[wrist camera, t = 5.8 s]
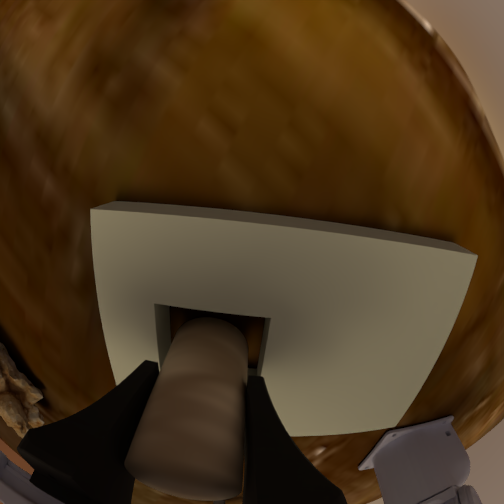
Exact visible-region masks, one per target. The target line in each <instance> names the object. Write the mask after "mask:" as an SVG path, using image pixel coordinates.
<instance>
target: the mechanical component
mask: <svg viewBox="0 0 504 504" xmlns="http://www.w3.org/2000/svg"><path fill="white" fill-rule="evenodd" d="M213 504H225V501H223V500H216V501H214V502H213Z"/></svg>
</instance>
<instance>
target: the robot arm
mask: <svg viewBox="0 0 504 504" xmlns="http://www.w3.org/2000/svg"><path fill="white" fill-rule="evenodd" d="M158 375H159V366H158V362H154V361H149V360H145V361H143V362H142V363H141V364H140V365H139V366H138V367H137V368H136V369H135V370H134V371H133V372H132V373H131V374H130V375H129V376H127V377H126V378H125V379H124V380H123V381H122V382H121V383H119V384H118V385H117V386H116V387H115V388H114V389H112V390H111V391H110V392H108V393H107V394H106V395H105V396H103V397H102V398H101V399H99V400H98V401H96V402H95V403H93V404H92V405H90V406H88V407H87V408H85V409H83V410H81V411H79V412H77V413H76V414H74V415H72V416H69V417H67V418H65V419H62V420H60V421H57V422H54V423H51V424H48V425H44V426H40V427H36V428H32V429H29V430H28V431H27V433H26V434H25V436H24V437H23V439H22V441H21V442H20V444H19V446H18V447H17V450H18V452H19V454H20V455H21V456H22V457H23V458H24V459H25V460H26V461H27V463H28V464H30V466H31V467H32V468H33V469H34V472H33V474H32V475H30V474H29V473H27V472H26V471H24V470H23V469H21V468H20V467H18V466H17V465H15V464H14V463H13V462H11V461H10V460H9V459H8V458H7V457H6V455H5V454H4V453H2V451H0V501H1V502H2V503H3V504H131V499H132V492H133V486H134V481H135V477H133V476H132V475H131V474H130V473H129V472H128V471H127V470H126V468H125V465H124V462H125V459H126V456H127V454H128V451H129V448H130V445H131V443H132V440H133V438H134V435H135V432H136V430H137V427H138V424H139V422H140V419H141V417H142V414H143V412H144V409H145V407H146V404H147V402H148V399H149V397H150V394H151V392H152V389H153V387H154V384H155V382H156V380H157V377H158ZM453 419H454V417H453V416H448V417H445V418H442V419H438V420H435V421H431V422H427V423H423V424H419V425H415V426H410V427H406V428H401V429H396V430H391V431H388V432H387V433H385V435H384V436H383V437H382V439H381V440H380V441H379V443H378V444H377V445H376V446H375V448H374V449H373V450H372V451H371V452H370V454H369V455H368V456H367V457H366V458H365V460H364V461H363V462H362V463H361V464H360V465H359V467H358V469H359V470H364V469H370V468H374V470H375V473H376V476H377V480H378V483H379V487H380V490H381V494H382V498H383V501H384V504H482V503H481V500H480V498H479V496H478V494H477V492H476V491H475V489H474V488H473V487H472V486H469V485H468V486H467V485H463V484H464V483H465V481H466V479H467V478H468V475H469V472H470V460H469V457H468V454H467V452H466V451H465V449H464V447H463V445H462V443H461V441H460V439H459V438H458V436H457V434H456V432H455V430H454V429H453V427H452V425H451V422H452V420H453ZM244 460H245V472H244V489H243V503H242V504H347V502H346V499H345V496H344V494H343V492H342V490H341V489H339V488H338V487H337V486H335V485H334V484H333V483H332V482H330V481H329V480H328V479H327V478H326V477H325V476H324V475H323V474H321V473H320V472H319V471H318V470H317V469H316V468H315V467H314V466H313V464H312V463H311V462H310V461H309V460H308V459H307V458H306V457H305V456H304V454H303V453H302V452H301V451H300V449H299V448H298V447H297V446H296V444H295V443H294V441H293V440H292V438H291V437H290V435H289V434H288V432H287V431H286V429H285V427H284V425H283V424H282V422H281V420H280V418H279V416H278V414H277V412H276V410H275V408H274V406H273V403H272V401H271V398H270V396H269V393H268V390H267V387H266V384H265V379H264V378H263V377H262V376H252V375H248V380H247V388H246V415H245V438H244ZM462 485H463V486H462Z"/></svg>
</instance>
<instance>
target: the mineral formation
mask: <svg viewBox="0 0 504 504" xmlns="http://www.w3.org/2000/svg"><path fill="white" fill-rule="evenodd" d="M42 398H43V395H42V392H41V391H40V390H39V389H38V388H36V387H34V385H33V384H32V383H31V382H30V381H29V380H28V379H27V377H26V376H25V375H24V374H23V373H20V372H19V371H18V370H17V368H16V365H15V362H14V361H13V360H12V359H11V358H10V356H9V354H8V352H7V349H6V347H5V346H4V345H3V344H2V343H0V416H2V418H3V419H4V421H5V422H6V423H7V426H10V427H13V429H14V430H15V431H16V432H17V434H18V435H19V436H20V437H22V438H23V437H24V436H25V434H26V433H27V431H28V430H29V429H30V426H29V424H31V426H32V427H33V428H36V427H40V426H43V424H44V422H43V416H42V414H39V411H38V408H37V407H36V406H35V405H34V403H36V402H37V401H39V400H40V399H42ZM28 423H29V424H28Z"/></svg>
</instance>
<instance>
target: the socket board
mask: <svg viewBox="0 0 504 504" xmlns="http://www.w3.org/2000/svg"><path fill="white" fill-rule="evenodd" d="M90 210H91V237H92V252H93V263H94V273H95V282H96V289H97V296H98V303H99V309H100V315H101V321H102V326H103V331H104V336H105V341H106V345H107V350H108V354H109V358H110V362H111V366H112V370H113V374H114V377H115V381H116V385H118V384H119V383H121V382H122V381H123V380H124V379H125V378H126V377H127V376H129V375H130V374H131V373H132V372H133V371H134V370H135V369H136V368H137V367H138V366H139V365H140V364H141V363H142V362H143V361H145V360H149V361H154V362H158V366H159V372H160V370H161V368H162V365H163V363H164V360H165V358H166V356H167V353H168V351H169V349H170V346H171V331H170V308H169V306H175V307H182V308H189V309H196V310H203V311H211V312H219V313H228V314H237V315H246V316H256V317H265V323H264V329H263V335H262V342H261V348H260V354H259V360H258V366H257V369H254V368H248V370H247V380H248V375H252V376H262V377H263V378H264V379H265V384H266V387H267V390H268V393H269V396H270V398H271V401H272V403H273V406H274V408H275V410H276V412H277V414H278V416H279V418H280V420H281V422H282V424H283V425H284V427H285V429H286V431H287V432H288V434H289V435H290V436H319V435H335V434H347V433H356V432H365V431H372V430H379V429H385V428H391V427H395V426H396V425H397V424H398V422H399V421H400V419H401V418H402V417H403V415H404V414H405V412H406V411H407V409H408V408H409V406H410V405H411V403H412V402H413V400H414V399H415V397H416V395H417V394H418V392H419V390H420V389H421V387H422V386H423V384H424V382H425V380H426V379H427V377H428V375H429V373H430V372H431V370H432V368H433V366H434V364H435V362H436V361H437V359H438V357H439V355H440V353H441V351H442V349H443V347H444V345H445V343H446V340H447V338H448V336H449V334H450V332H451V330H452V327H453V325H454V323H455V320H456V318H457V315H458V313H459V311H460V308H461V305H462V303H463V300H464V297H465V295H466V292H467V289H468V286H469V283H470V280H471V277H472V274H473V271H474V268H475V264H476V261H477V257H478V255H476V254H474V253H472V252H471V251H469V250H467V249H465V248H463V247H461V246H459V245H457V244H455V243H453V242H448V241H443V240H438V239H432V238H427V237H421V236H416V235H410V234H405V233H399V232H393V231H387V230H381V229H375V228H368V227H362V226H355V225H349V224H342V223H335V222H328V221H320V220H313V219H305V218H298V217H290V216H282V215H273V214H264V213H256V212H246V211H237V210H227V209H217V208H206V207H195V206H183V205H170V204H156V203H141V202H125V201H113V202H110V203H107V204H104V205H101V206H98V207H95V208H92V209H90Z"/></svg>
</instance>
